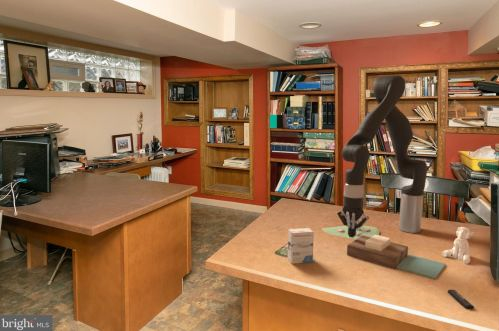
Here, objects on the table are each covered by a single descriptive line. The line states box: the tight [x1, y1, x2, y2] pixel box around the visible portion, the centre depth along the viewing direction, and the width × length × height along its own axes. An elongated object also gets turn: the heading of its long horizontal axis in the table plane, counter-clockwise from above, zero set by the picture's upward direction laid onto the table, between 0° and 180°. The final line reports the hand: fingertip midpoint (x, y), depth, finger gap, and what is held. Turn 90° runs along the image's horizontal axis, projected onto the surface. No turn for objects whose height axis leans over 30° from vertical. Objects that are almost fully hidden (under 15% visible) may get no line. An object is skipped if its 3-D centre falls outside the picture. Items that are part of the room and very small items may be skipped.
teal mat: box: [395, 254, 446, 280], centre depth 123 cm, size 14×13×1 cm
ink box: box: [287, 227, 315, 265], centre depth 128 cm, size 8×5×12 cm, turn 100°
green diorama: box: [321, 216, 380, 240], centre depth 158 cm, size 25×21×9 cm
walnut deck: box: [346, 235, 409, 269], centre depth 132 cm, size 14×18×4 cm
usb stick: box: [447, 289, 475, 310], centre depth 101 cm, size 10×3×2 cm, turn 0°
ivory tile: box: [365, 234, 391, 251], centre depth 131 cm, size 9×6×2 cm, turn 138°
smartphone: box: [274, 243, 288, 259], centre depth 138 cm, size 7×1×15 cm
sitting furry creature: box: [441, 226, 475, 265], centre depth 130 cm, size 10×9×12 cm
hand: (351, 236), depth 138 cm, fingers closed
